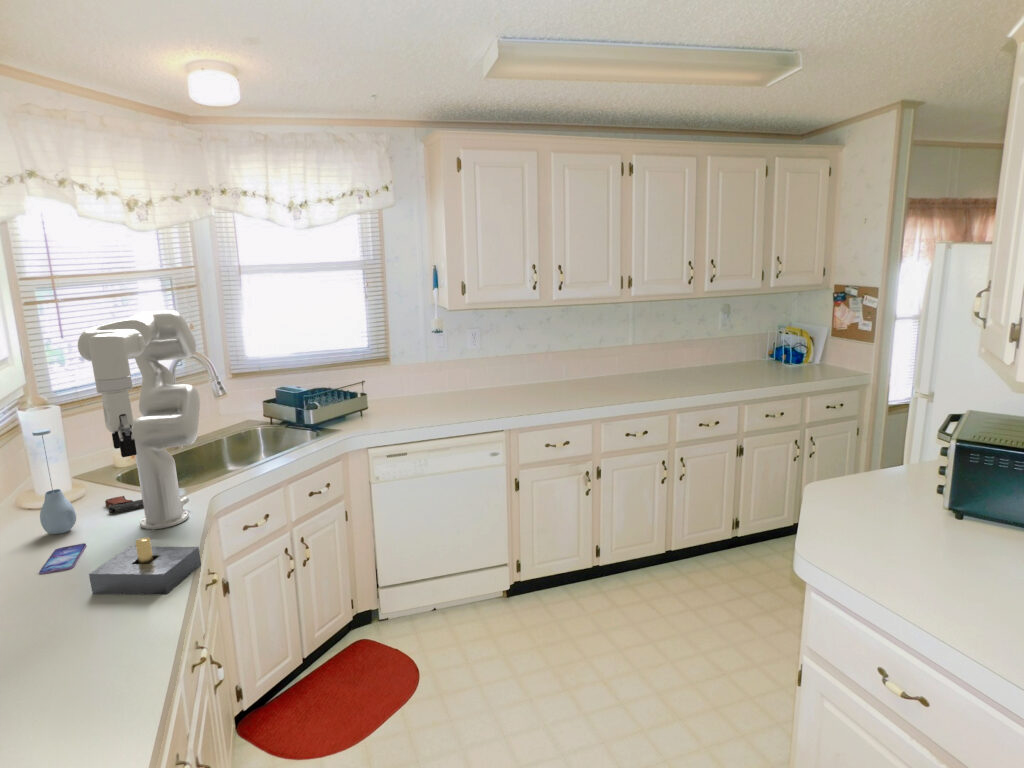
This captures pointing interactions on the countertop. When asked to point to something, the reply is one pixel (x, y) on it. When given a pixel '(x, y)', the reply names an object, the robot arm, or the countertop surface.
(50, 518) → the pendant light
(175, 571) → the block
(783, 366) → the countertop surface
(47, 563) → the smartphone
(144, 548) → the brass pin
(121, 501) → the handgun
